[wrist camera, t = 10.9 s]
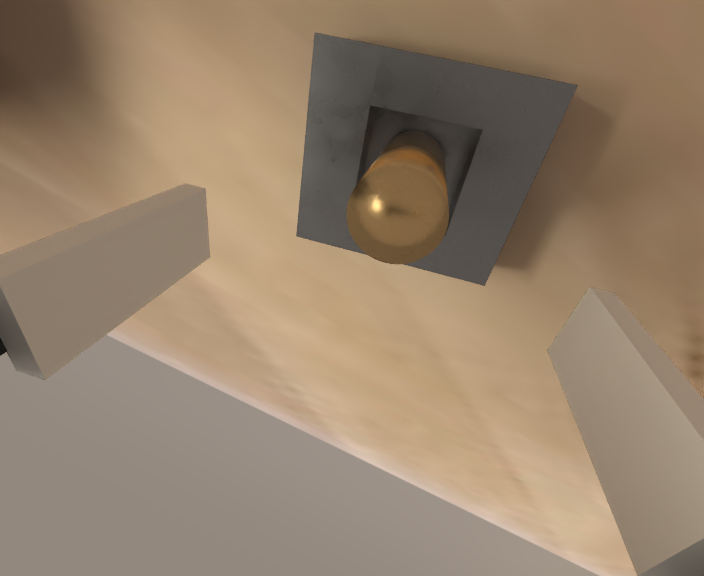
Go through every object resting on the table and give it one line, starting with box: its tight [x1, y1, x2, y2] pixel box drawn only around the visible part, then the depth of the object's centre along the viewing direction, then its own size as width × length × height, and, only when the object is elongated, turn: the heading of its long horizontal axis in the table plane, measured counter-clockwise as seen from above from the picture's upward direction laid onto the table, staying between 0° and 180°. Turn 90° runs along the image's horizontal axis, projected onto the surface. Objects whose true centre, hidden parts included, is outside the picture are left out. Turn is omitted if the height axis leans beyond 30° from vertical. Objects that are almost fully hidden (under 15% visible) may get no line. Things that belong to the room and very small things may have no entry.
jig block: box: [296, 33, 578, 286], centre depth 26 cm, size 16×14×4 cm
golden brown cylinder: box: [346, 131, 449, 264], centre depth 22 cm, size 5×5×12 cm
